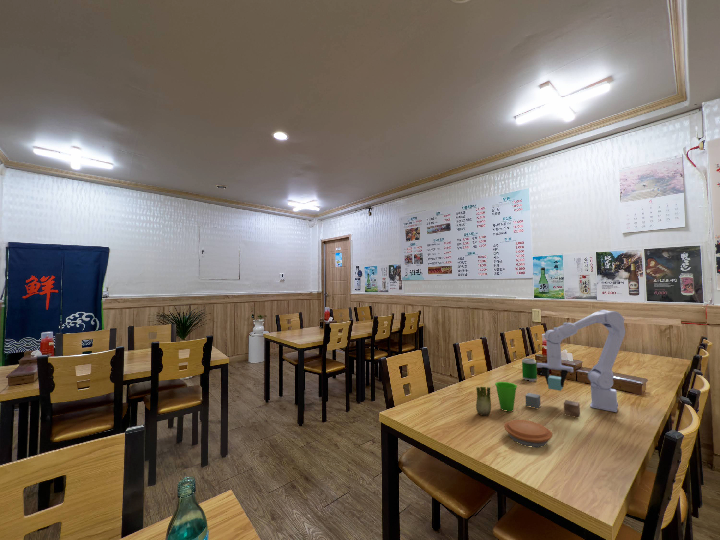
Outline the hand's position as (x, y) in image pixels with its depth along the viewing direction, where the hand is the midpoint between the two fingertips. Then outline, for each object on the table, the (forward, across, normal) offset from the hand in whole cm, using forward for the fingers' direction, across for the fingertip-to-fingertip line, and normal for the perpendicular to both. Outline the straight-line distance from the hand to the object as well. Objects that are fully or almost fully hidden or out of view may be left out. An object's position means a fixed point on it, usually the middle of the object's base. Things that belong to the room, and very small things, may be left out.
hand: (555, 385), depth 146 cm
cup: (+9, +16, +21) cm, 28 cm away
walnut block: (+9, -7, +9) cm, 15 cm away
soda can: (+9, +18, -34) cm, 40 cm away
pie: (+9, +2, +45) cm, 46 cm away
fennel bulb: (+9, +22, +33) cm, 41 cm away
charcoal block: (+9, +8, +9) cm, 15 cm away
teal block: (+1, 0, 0) cm, 1 cm away
